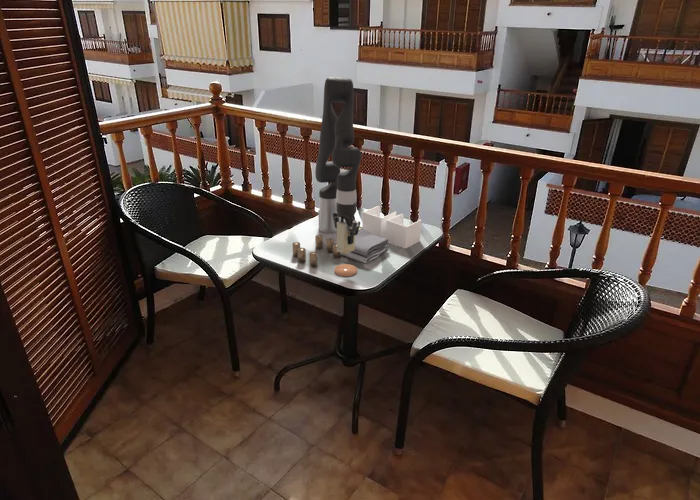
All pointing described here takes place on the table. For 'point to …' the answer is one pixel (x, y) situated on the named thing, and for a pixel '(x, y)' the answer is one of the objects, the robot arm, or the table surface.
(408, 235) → the storage container
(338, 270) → the tan oval piece
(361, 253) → the towel
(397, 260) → the table surface
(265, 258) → the table surface
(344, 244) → the skincare box
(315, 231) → the table surface
